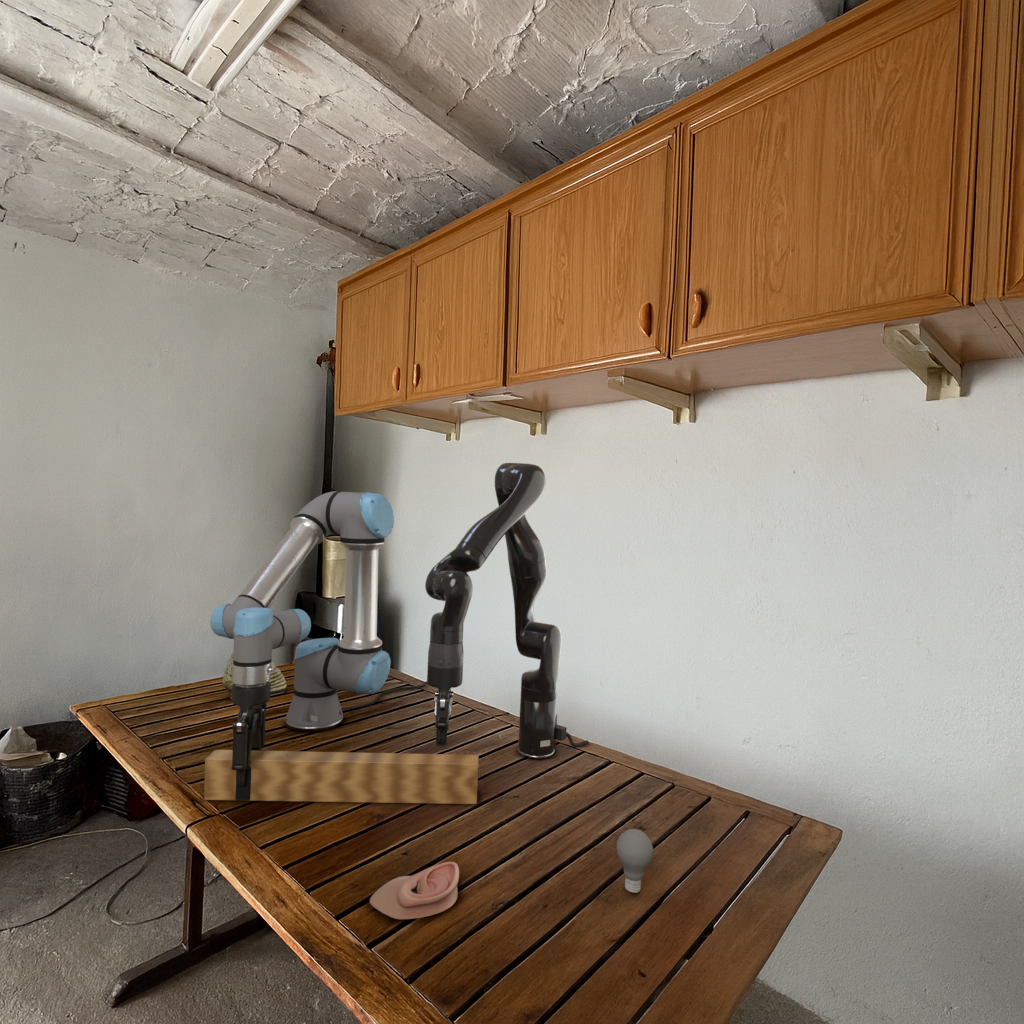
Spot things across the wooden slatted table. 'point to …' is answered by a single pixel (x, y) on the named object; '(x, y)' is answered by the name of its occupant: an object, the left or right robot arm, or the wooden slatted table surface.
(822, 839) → the wooden slatted table surface
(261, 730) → the left robot arm
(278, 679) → the fossil
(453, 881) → the anatomical model
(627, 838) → the light bulb
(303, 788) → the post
